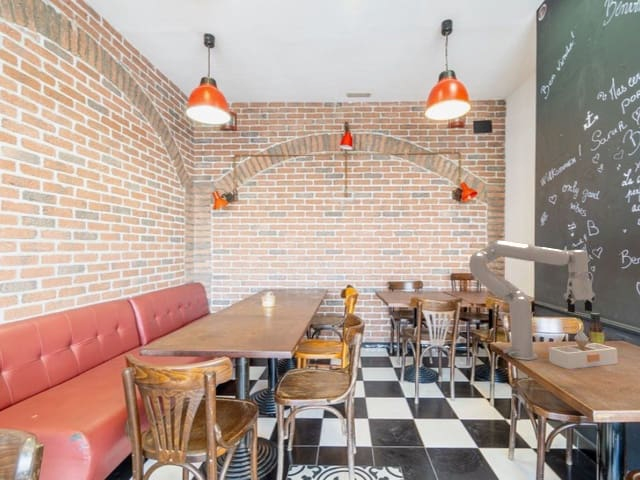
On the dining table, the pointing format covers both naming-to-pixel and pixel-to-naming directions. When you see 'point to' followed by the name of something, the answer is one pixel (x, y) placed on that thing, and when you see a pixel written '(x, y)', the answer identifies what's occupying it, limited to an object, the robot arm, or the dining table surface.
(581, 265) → the robot arm
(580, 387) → the dining table surface
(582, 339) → the ice cream cone
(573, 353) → the compartment tray
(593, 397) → the dining table surface
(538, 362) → the dining table surface
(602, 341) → the sauce bottle
